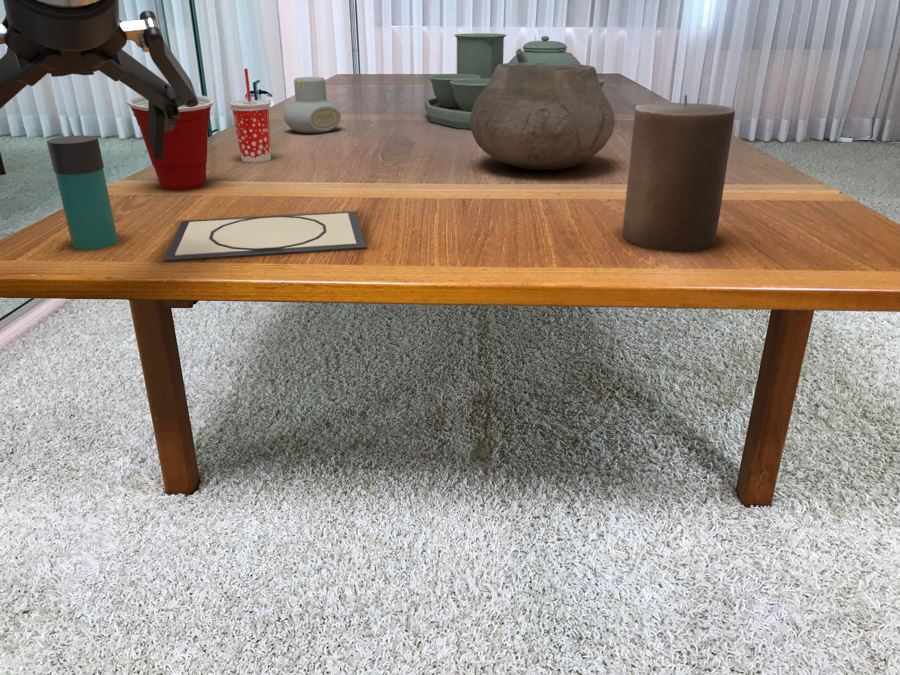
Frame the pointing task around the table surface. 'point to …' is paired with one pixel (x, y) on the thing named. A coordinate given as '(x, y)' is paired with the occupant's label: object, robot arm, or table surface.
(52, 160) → the dot marker
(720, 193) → the pillar candle
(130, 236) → the table surface
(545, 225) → the table surface
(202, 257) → the drawing board
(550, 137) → the clay pot
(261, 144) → the beverage cup
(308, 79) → the air freshener
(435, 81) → the tea set
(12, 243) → the table surface
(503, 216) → the table surface
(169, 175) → the plastic cup
